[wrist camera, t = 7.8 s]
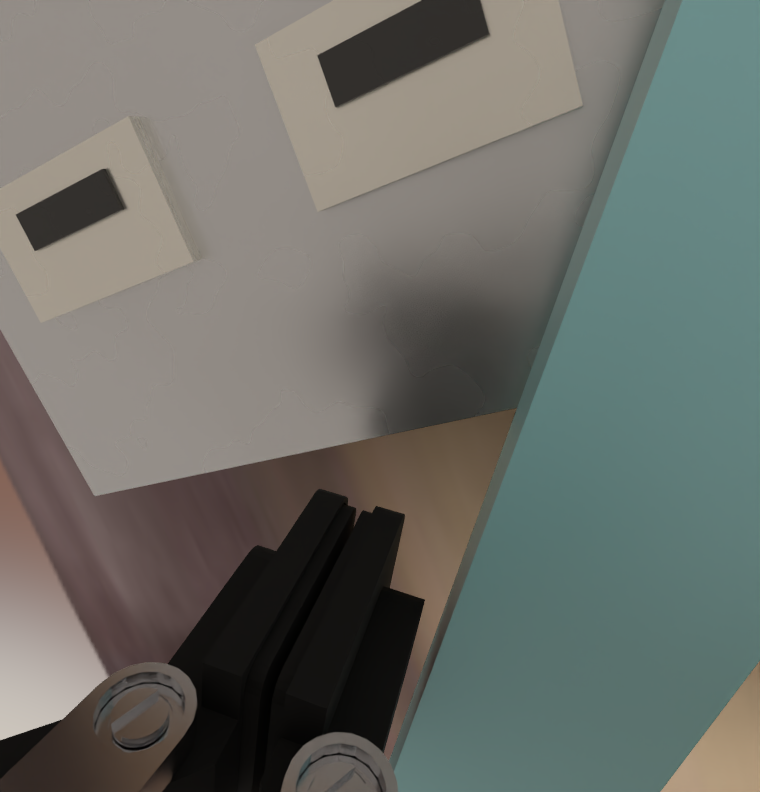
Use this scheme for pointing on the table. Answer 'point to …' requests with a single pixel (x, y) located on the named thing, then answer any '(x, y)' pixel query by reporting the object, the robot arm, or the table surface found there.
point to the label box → (292, 213)
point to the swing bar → (623, 465)
